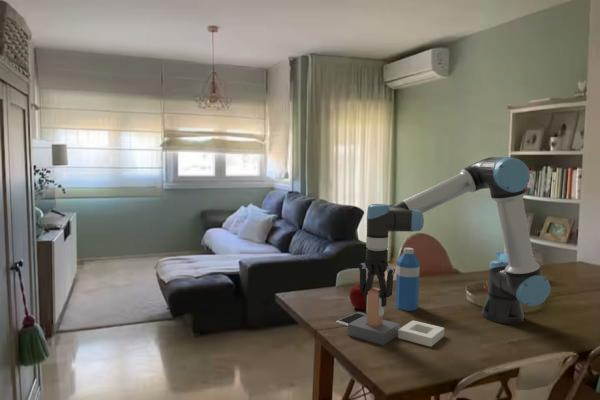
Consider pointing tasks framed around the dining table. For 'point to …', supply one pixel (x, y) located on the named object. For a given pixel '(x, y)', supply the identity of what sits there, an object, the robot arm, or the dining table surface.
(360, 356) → the dining table surface
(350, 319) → the smartphone
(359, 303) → the apple
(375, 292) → the plug
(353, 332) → the grey flat block
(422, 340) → the white square frame
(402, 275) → the water bottle
